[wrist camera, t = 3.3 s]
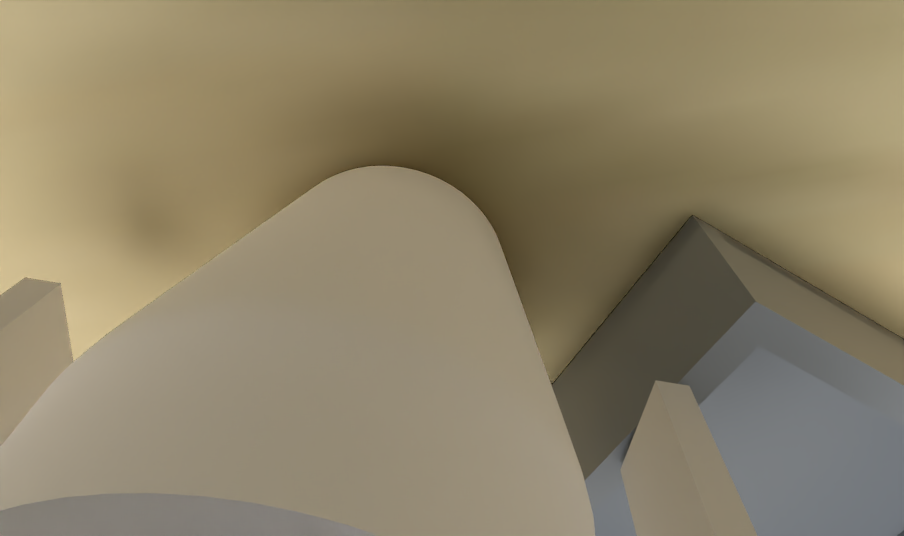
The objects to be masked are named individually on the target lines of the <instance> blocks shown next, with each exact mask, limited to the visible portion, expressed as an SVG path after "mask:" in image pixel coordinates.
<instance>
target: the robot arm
mask: <svg viewBox="0 0 904 536" xmlns="http://www.w3.org/2000/svg"><path fill="white" fill-rule="evenodd" d="M71 363H73V357H72V350H71V344H70V338H69V332H68V326H67V320H66V313H65V307H64V301H63V295H62V289H61V283H55V282H49V281H43V280H37V279H31V278H24V279H22V280H21V281H20V282H18V283H17V284H15V285H14V286H13V287H11V288H10V289H8V290H7V291H6V292H4V293H3V294H1V295H0V446H1V445H2V444H3V443H4V442H5V440H6V439H7V438H8V437H9V436H10V435H11V433H12V432H13V431H14V430H15V428H16V427H17V426H18V425H19V423H20V422H21V421H22V420H23V418H24V417H25V416H26V414H27V413H28V412H29V411H30V409H31V408H32V407H33V406H34V404H35V403H36V402H37V401H38V399H39V398H40V397H41V396H42V395H43V393H44V392H45V391H46V390H47V389H48V387H49V386H50V385H51V384H52V383H53V382H54V381H55V379H56V378H57V377H58V376H59V375H60V374H61V373H62V372H63V371H64V370H65V369H66V368H67V367H68V366H69V365H70V364H71ZM620 471H621V475H622V479H623V483H624V487H625V491H626V495H627V499H628V503H629V507H630V511H631V515H632V519H633V523H634V527H635V531H636V535H637V536H757V533H756V531H755V529H754V527H753V525H752V522H751V520H750V518H749V516H748V514H747V511H746V509H745V507H744V505H743V503H742V500H741V498H740V496H739V494H738V492H737V489H736V487H735V485H734V483H733V481H732V478H731V476H730V474H729V472H728V470H727V467H726V465H725V463H724V461H723V459H722V456H721V454H720V452H719V450H718V448H717V445H716V443H715V441H714V439H713V437H712V434H711V432H710V430H709V428H708V426H707V423H706V421H705V419H704V417H703V415H702V412H701V410H700V408H699V406H698V404H697V401H696V399H695V397H694V395H693V393H692V390H691V388H690V386H688V385H681V384H675V383H669V382H663V381H657V380H656V381H655V383H654V386H653V388H652V391H651V393H650V396H649V398H648V401H647V403H646V406H645V408H644V411H643V413H642V416H641V419H640V421H639V424H638V426H637V429H636V431H635V434H634V436H633V439H632V441H631V444H630V446H629V449H628V451H627V454H626V456H625V459H624V461H623V464H622V467H621V469H620Z"/></svg>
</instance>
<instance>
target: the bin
mask: <svg viewBox="0 0 904 536" xmlns="http://www.w3.org/2000/svg"><path fill="white" fill-rule="evenodd" d="M656 380H657V381H663V382H669V383H675V384H681V385H688V386H690V388H691V390H692V393H693V395H694V397H695V399H696V401H697V404H698V406H699V408H700V410H701V412H702V415H703V417H704V419H705V421H706V423H707V426H708V428H709V430H710V432H711V434H712V437H713V439H714V441H715V443H716V445H717V448H718V450H719V452H720V454H721V456H722V459H723V461H724V463H725V465H726V467H727V470H728V472H729V474H730V476H731V478H732V481H733V483H734V485H735V487H736V489H737V492H738V494H739V496H740V498H741V500H742V503H743V505H744V507H745V509H746V511H747V514H748V516H749V518H750V520H751V522H752V525H753V527H754V529H755V531H756V533H757V536H904V339H903V338H901V337H899V336H898V335H896V334H894V333H893V332H891V331H889V330H887V329H886V328H884V327H882V326H881V325H879V324H877V323H876V322H874V321H872V320H870V319H869V318H867V317H865V316H864V315H862V314H860V313H859V312H857V311H855V310H853V309H852V308H850V307H848V306H847V305H845V304H843V303H841V302H840V301H838V300H836V299H835V298H833V297H831V296H830V295H828V294H826V293H824V292H823V291H821V290H819V289H818V288H816V287H814V286H813V285H811V284H809V283H807V282H806V281H804V280H802V279H801V278H799V277H797V276H796V275H794V274H792V273H790V272H789V271H787V270H785V269H784V268H782V267H780V266H779V265H777V264H775V263H773V262H772V261H770V260H768V259H767V258H765V257H763V256H761V255H760V254H758V253H756V252H755V251H753V250H751V249H750V248H748V247H746V246H744V245H743V244H741V243H739V242H738V241H736V240H734V239H733V238H731V237H729V236H727V235H726V234H724V233H722V232H721V231H719V230H717V229H716V228H714V227H712V226H710V225H709V224H707V223H705V222H704V221H702V220H700V219H699V218H697V217H695V216H693V215H692V216H691V217H690V218H689V220H688V221H687V222H686V223H685V224H684V226H683V227H682V228H681V229H680V230H679V232H678V233H677V234H676V235H675V237H674V238H673V239H672V240H671V241H670V243H669V244H668V245H667V246H666V247H665V249H664V250H663V251H662V252H661V254H660V255H659V256H658V257H657V258H656V260H655V261H654V262H653V263H652V264H651V266H650V267H649V268H648V269H647V270H646V272H645V273H644V274H643V275H642V277H641V278H640V279H639V280H638V281H637V283H636V284H635V285H634V286H633V287H632V289H631V290H630V291H629V292H628V294H627V295H626V296H625V297H624V298H623V300H622V301H621V302H620V303H619V304H618V306H617V307H616V308H615V309H614V311H613V312H612V313H611V314H610V315H609V317H608V318H607V319H606V320H605V321H604V323H603V324H602V325H601V326H600V327H599V329H598V330H597V331H596V332H595V334H594V335H593V336H592V337H591V338H590V340H589V341H588V342H587V343H586V344H585V346H584V347H583V348H582V349H581V351H580V352H579V353H578V354H577V355H576V357H575V358H574V359H573V360H572V361H571V363H570V364H569V365H568V366H567V368H566V369H565V370H564V371H563V372H562V374H561V375H560V376H559V377H558V378H557V380H556V381H555V382H554V383H553V384H552V388H553V391H554V394H555V396H556V399H557V402H558V405H559V408H560V410H561V413H562V416H563V419H564V422H565V424H566V427H567V430H568V433H569V436H570V439H571V441H572V444H573V447H574V450H575V453H576V455H577V458H578V461H579V464H580V467H581V470H582V473H583V477H584V481H585V485H586V489H587V492H588V496H589V500H590V505H591V509H592V513H593V517H594V527H595V536H637V535H636V531H635V527H634V523H633V519H632V515H631V511H630V507H629V503H628V499H627V495H626V491H625V487H624V483H623V479H622V475H621V471H620V469H621V467H622V464H623V461H624V459H625V456H626V454H627V451H628V449H629V446H630V444H631V441H632V439H633V436H634V434H635V431H636V429H637V426H638V424H639V421H640V419H641V416H642V413H643V411H644V408H645V406H646V403H647V401H648V398H649V396H650V393H651V391H652V388H653V386H654V383H655V381H656Z"/></svg>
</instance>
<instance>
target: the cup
mask: <svg viewBox="0 0 904 536" xmlns="http://www.w3.org/2000/svg"><path fill="white" fill-rule="evenodd" d="M0 536H595V527H594V517H593V513H592V509H591V505H590V500H589V496H588V492H587V489H586V485H585V481H584V477H583V473H582V470H581V467H580V464H579V461H578V458H577V455H576V453H575V450H574V447H573V444H572V441H571V439H570V436H569V433H568V430H567V427H566V424H565V422H564V419H563V416H562V413H561V410H560V408H559V405H558V402H557V399H556V396H555V394H554V391H553V388H552V385H551V383H550V380H549V377H548V374H547V372H546V369H545V366H544V363H543V361H542V358H541V355H540V352H539V350H538V347H537V344H536V341H535V339H534V336H533V333H532V330H531V327H530V325H529V322H528V319H527V316H526V314H525V311H524V308H523V305H522V303H521V300H520V297H519V294H518V292H517V289H516V286H515V283H514V281H513V278H512V275H511V272H510V270H509V267H508V264H507V261H506V259H505V256H504V253H503V250H502V248H501V245H500V242H499V240H498V237H497V235H496V233H495V231H494V229H493V227H492V225H491V224H490V222H489V221H488V219H487V218H486V216H485V215H484V214H483V213H482V211H481V210H480V209H479V208H478V207H477V206H476V205H475V204H474V203H473V202H472V201H471V200H470V199H469V198H468V197H467V196H465V195H464V194H463V193H462V192H460V191H459V190H458V189H456V188H455V187H453V186H452V185H450V184H448V183H446V182H444V181H443V180H441V179H439V178H436V177H434V176H432V175H429V174H426V173H423V172H420V171H417V170H413V169H409V168H403V167H396V166H368V167H362V168H356V169H352V170H348V171H345V172H342V173H339V174H337V175H334V176H332V177H330V178H328V179H326V180H324V181H322V182H321V183H319V184H318V185H316V186H315V187H313V188H312V189H310V190H309V191H308V192H306V193H305V194H303V195H302V196H300V197H299V198H298V199H296V200H295V201H293V202H292V203H291V204H289V205H288V206H286V207H285V208H283V209H282V210H281V211H279V212H278V213H276V214H275V215H274V216H272V217H271V218H269V219H268V220H267V221H265V222H264V223H262V224H261V225H259V226H258V227H257V228H255V229H254V230H252V231H251V232H250V233H248V234H247V235H245V236H244V237H243V238H241V239H240V240H238V241H237V242H235V243H234V244H233V245H231V246H230V247H228V248H227V249H226V250H224V251H223V252H221V253H220V254H219V255H217V256H216V257H214V258H213V259H211V260H210V261H209V262H207V263H206V264H204V265H203V266H202V267H200V268H199V269H197V270H196V271H195V272H193V273H192V274H190V275H189V276H187V277H186V278H185V279H183V280H182V281H180V282H179V283H178V284H176V285H175V286H173V287H172V288H171V289H169V290H168V291H166V292H165V293H163V294H162V295H161V296H159V297H158V298H157V299H155V300H154V301H152V302H151V303H150V304H148V305H147V306H145V307H144V308H143V309H141V310H140V311H138V312H137V313H136V314H134V315H133V316H131V317H130V318H129V319H127V320H126V321H124V322H123V323H122V324H120V325H119V326H118V327H116V328H115V329H113V330H112V331H111V332H109V333H108V334H106V335H105V336H104V337H103V338H102V339H100V340H99V341H98V342H97V343H95V344H94V345H93V346H92V347H90V348H89V349H88V350H87V351H86V352H84V353H83V354H82V355H81V356H80V357H79V358H77V359H76V360H75V361H74V362H73V363H71V364H70V365H69V366H68V367H67V368H66V369H65V370H64V371H63V372H62V373H61V374H60V375H59V376H58V377H57V378H56V379H55V381H54V382H53V383H52V384H51V385H50V386H49V387H48V389H47V390H46V391H45V392H44V393H43V395H42V396H41V397H40V398H39V399H38V401H37V402H36V403H35V404H34V406H33V407H32V408H31V409H30V411H29V412H28V413H27V414H26V416H25V417H24V418H23V420H22V421H21V422H20V423H19V425H18V426H17V427H16V428H15V430H14V431H13V432H12V433H11V435H10V436H9V437H8V438H7V439H6V440H5V442H4V443H3V444H2V445H1V446H0Z"/></svg>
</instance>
